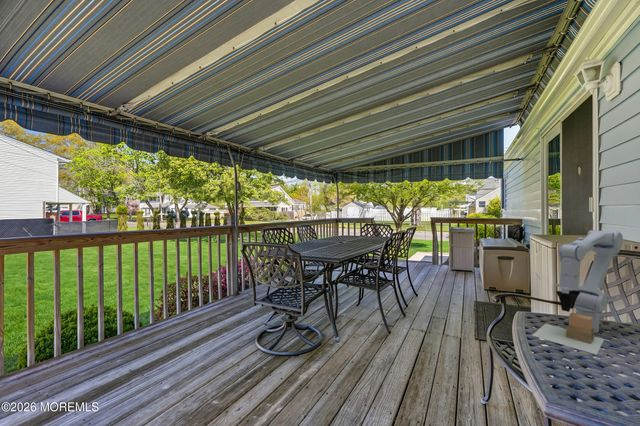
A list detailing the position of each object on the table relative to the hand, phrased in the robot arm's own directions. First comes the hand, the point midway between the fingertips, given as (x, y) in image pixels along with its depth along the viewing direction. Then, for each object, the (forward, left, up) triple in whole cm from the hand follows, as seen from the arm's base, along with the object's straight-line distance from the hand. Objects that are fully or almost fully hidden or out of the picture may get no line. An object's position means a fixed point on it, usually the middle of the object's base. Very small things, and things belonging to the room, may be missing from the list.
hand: (567, 309), depth 113 cm
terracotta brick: (+1, +4, -6) cm, 7 cm away
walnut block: (+1, +4, -10) cm, 11 cm away
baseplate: (+4, +1, -10) cm, 11 cm away
